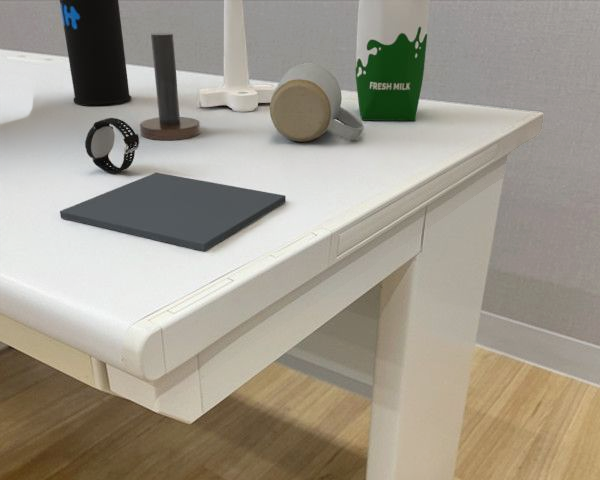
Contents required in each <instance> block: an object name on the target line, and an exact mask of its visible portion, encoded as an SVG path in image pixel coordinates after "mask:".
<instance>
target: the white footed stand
mask: <svg viewBox="0 0 600 480" xmlns="http://www.w3.org/2000/svg"><path fill="white" fill-rule="evenodd" d="M243 2H244V0H223V85H222V86H216V87H206V88H199V89H196V94H197V95H196V97H197V107H198V108H210V107H218V106H227V107H229V108H231V110H232V111H234V112H239V113H240V112H241V113H246V112H248V113H249V112H253V111H255V109H256V108H257V107H259V104H262V103H263V104H264V103H265V104H270V102H271V98H272V95H273V93H274V90H275V89H276V87H277V86H274V85H269V84H267V85H265V84H263V85H261V84H260V85H257V84H256V85H251V83H250V73H249V62H248V61H249V60H248V51H247V48H248V47H247V39H246V38H247V37H246V25H245V16H244V15H245V11H244V3H243Z"/></svg>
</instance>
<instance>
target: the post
mask: <svg viewBox="0 0 600 480" xmlns="http://www.w3.org/2000/svg"><path fill="white" fill-rule="evenodd" d="M150 37H151V49H152V58H153V68H154V69H153V70H154V79H155V90H156V99H157V110H158V111H157V112H158V117H154V118H149V119H146V120H143V121H141V122H140V123H139V129H140V135H141V136H142V138H146V139H150V140H155V141H179V140H184V139H185V140H186V139H190V138H194V137H196V136H199V135H200V134H201V123H200V121H199V120H198V119H196V118H193V117H188V116H181V115H180V114H181V113H180V104H179V91H178V78H177V65H176V55H175V54H176V53H175V43H174V34H173V33H171V32H153V33H150Z"/></svg>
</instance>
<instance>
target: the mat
mask: <svg viewBox="0 0 600 480" xmlns="http://www.w3.org/2000/svg"><path fill="white" fill-rule="evenodd" d="M286 197H287V196H286V195H285V194H278V193H273V192H267V191H263V190H257V189H252V188H245V187H239V186H234V185H228V184H223V183H217V182H212V181H207V180H200V179H195V178H189V177H185V176H184V177H183V176H177V175H172V174H167V173H161V172H154V173H151V174H149V175H146V176H144V177H141V178H139V179H137V180H134V181H131V182H128V183H127V184H124V185H122V186H119V187H116V188H114V189H112V190H109V191H106V192H104V193H102V194H99V195H97V196H94V197H92V198H89V199H87V200H84V201H82V202H79V203H77V204H74V205H71V206H69V207H66V208H64V209H62V210H61V209H60V211H59V215H60V219H64V220H69V221H73V222H77V223H82V224H86V225H90V226H94V227H99V228H103V229H108V230H111V231H116V232H120V233H125V234H129V235H133V236H137V237H142V238H146V239H150V240H155V241H159V242H162V243H168V244H172V245H176V246H181V247H184V248H189V249H193V250H197V251H201V252H206V251H207V250H209V249H211V248H212V247H214V246H216V245H217V244H219V243H220V242H222V241H224V240H226V239H227V238H229V237H230V236H232V235H234V234H236V233H237V232H238V231H240V230H242V229H244V228H246V227H247V226H249V225H250V224H251V223H254V222H255V221H256V220H258V219H260V218H262V217H263V216H265V215H267V214H268V213H270V212H271V211H273V210H275V209H276V208H278V207H280V206H281V205H283V204H284V203H286V200H287V199H286Z"/></svg>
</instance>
